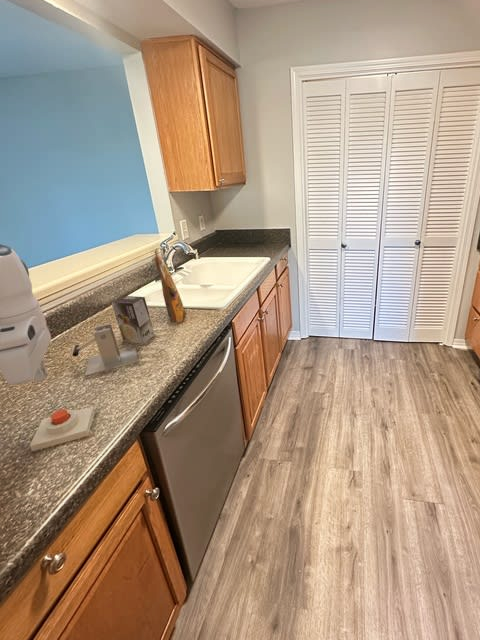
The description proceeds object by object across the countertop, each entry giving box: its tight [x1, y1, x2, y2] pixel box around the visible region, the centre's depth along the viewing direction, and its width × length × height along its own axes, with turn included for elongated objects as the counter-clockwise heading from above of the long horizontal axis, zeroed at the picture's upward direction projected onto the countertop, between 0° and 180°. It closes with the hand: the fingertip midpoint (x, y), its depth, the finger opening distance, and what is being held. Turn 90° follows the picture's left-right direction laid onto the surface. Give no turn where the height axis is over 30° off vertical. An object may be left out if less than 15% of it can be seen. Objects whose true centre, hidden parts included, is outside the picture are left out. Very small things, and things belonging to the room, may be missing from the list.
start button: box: [50, 409, 69, 425], centre depth 76 cm, size 3×3×2 cm
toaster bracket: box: [85, 322, 138, 377], centre depth 101 cm, size 14×11×13 cm
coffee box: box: [111, 295, 155, 344], centre depth 114 cm, size 9×6×16 cm
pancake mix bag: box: [154, 248, 185, 324], centre depth 129 cm, size 7×19×28 cm, turn 16°
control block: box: [29, 406, 96, 452], centre depth 77 cm, size 11×9×4 cm
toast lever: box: [72, 327, 107, 358], centre depth 98 cm, size 11×5×2 cm, turn 117°
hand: (41, 378), depth 72 cm, fingers closed
